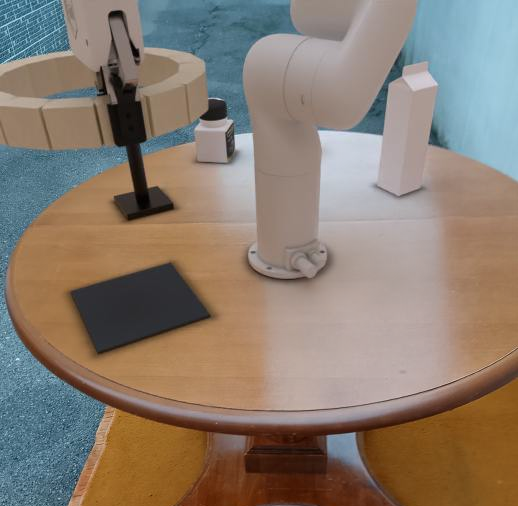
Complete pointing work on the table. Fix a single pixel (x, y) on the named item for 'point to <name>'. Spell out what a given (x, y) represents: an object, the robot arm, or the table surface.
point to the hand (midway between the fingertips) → (125, 136)
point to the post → (141, 190)
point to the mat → (137, 306)
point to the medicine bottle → (215, 134)
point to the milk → (407, 129)
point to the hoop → (94, 99)
